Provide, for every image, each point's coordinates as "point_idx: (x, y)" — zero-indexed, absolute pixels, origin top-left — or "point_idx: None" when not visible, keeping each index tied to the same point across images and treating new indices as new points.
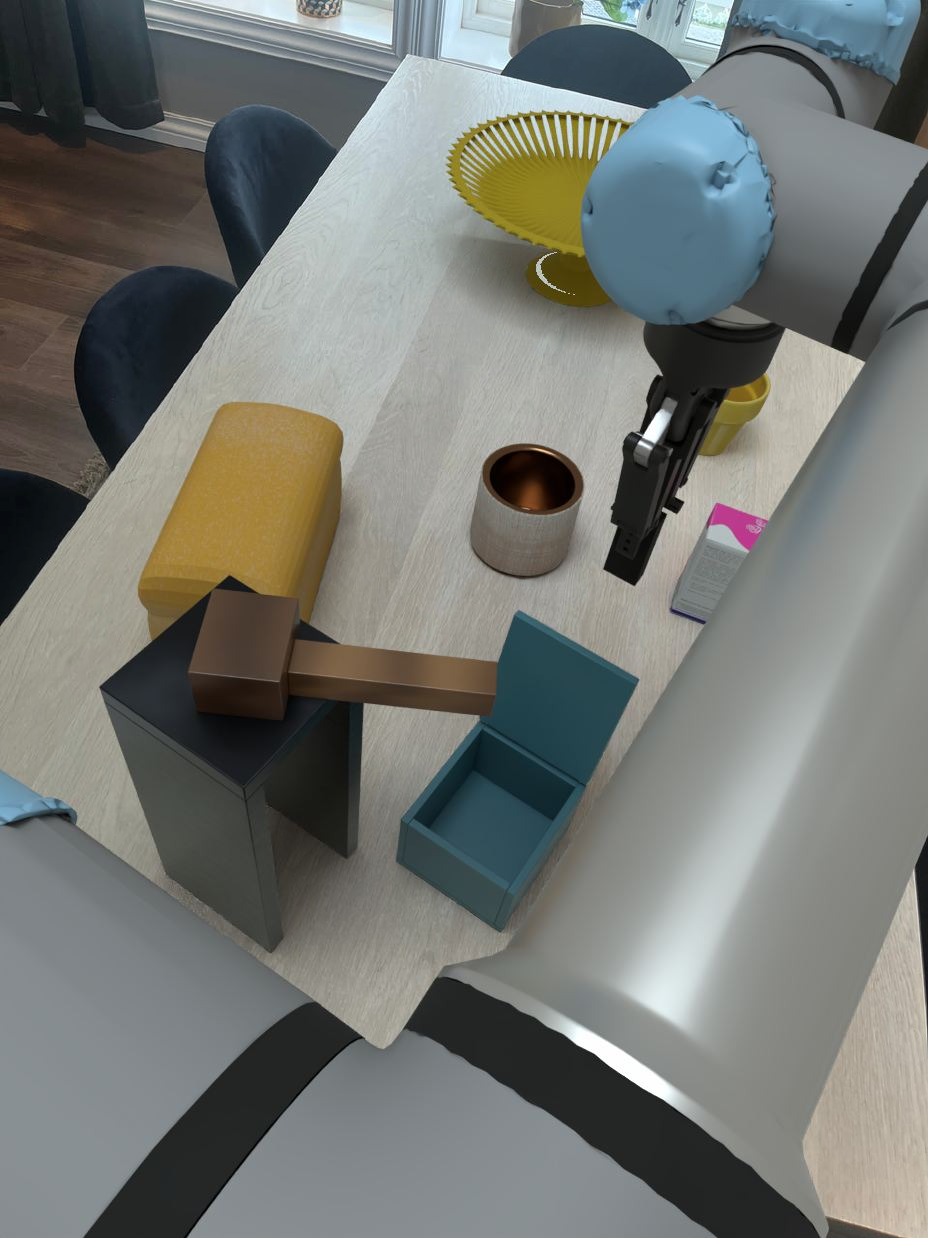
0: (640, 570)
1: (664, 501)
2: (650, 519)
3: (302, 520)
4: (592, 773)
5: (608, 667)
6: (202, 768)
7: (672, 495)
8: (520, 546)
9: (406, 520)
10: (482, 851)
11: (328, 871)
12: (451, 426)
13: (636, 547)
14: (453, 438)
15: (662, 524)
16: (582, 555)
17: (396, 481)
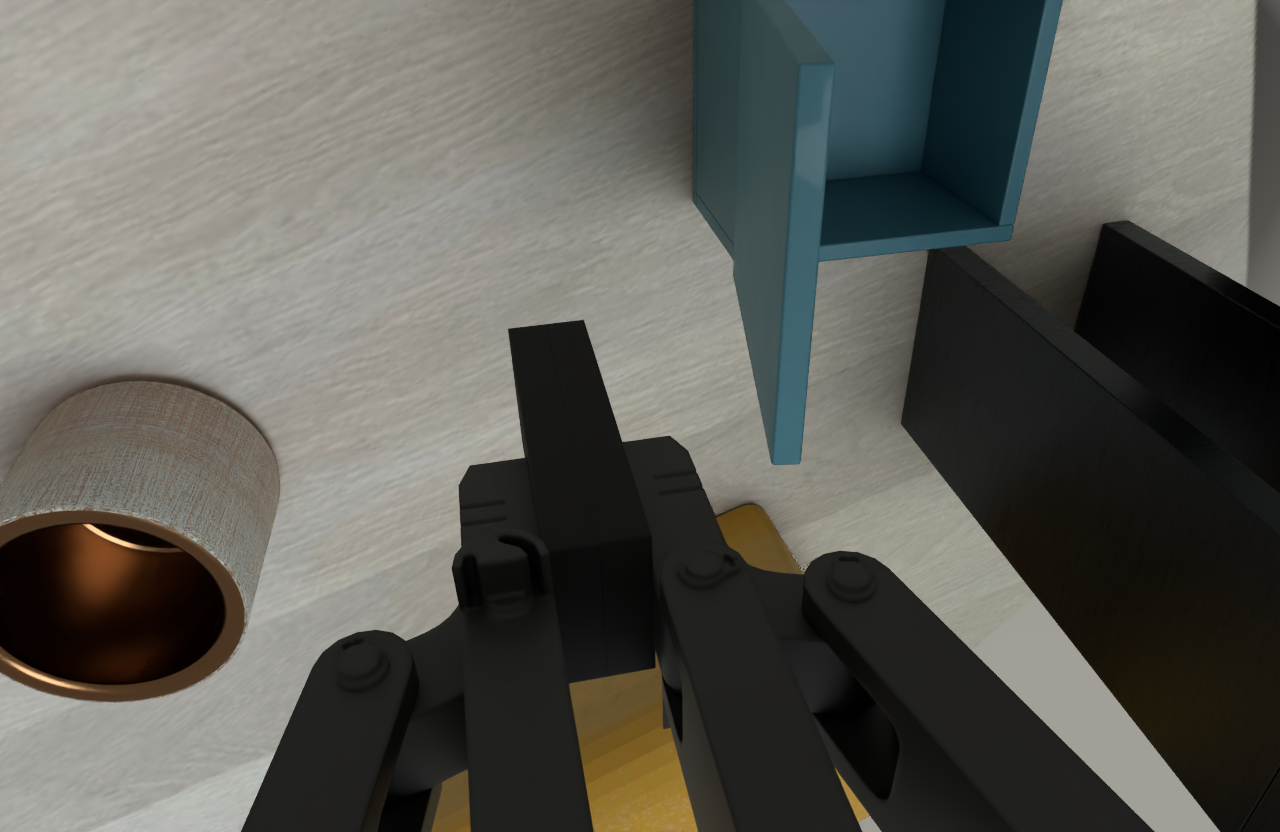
0: (597, 366)
1: (722, 682)
2: (905, 653)
3: (663, 768)
4: None
5: (820, 174)
6: None
7: (548, 651)
8: (235, 480)
9: (325, 618)
10: (849, 67)
11: (986, 246)
12: (49, 726)
13: (698, 485)
14: (71, 704)
15: (552, 508)
16: (44, 359)
17: (267, 683)
